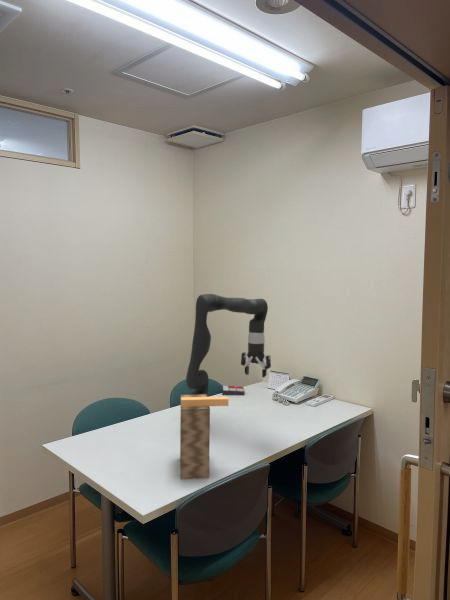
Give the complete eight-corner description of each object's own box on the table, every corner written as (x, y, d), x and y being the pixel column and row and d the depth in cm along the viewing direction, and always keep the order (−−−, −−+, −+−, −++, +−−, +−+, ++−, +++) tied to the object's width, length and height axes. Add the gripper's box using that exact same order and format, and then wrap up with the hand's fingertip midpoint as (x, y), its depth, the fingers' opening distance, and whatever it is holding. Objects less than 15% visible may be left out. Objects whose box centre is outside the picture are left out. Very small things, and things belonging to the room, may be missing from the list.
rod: (181, 406, 187) (181, 399, 187) (181, 404, 191) (181, 397, 190) (228, 405, 189) (228, 399, 189) (227, 403, 193) (227, 396, 193)
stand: (180, 479, 187) (181, 409, 184) (180, 458, 206) (180, 394, 204) (209, 478, 188) (209, 408, 185) (206, 457, 208) (206, 394, 205)
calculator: (244, 390, 304) (222, 389, 304) (244, 396, 305) (222, 395, 304) (243, 386, 315) (222, 385, 315) (243, 392, 316) (221, 390, 315)
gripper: (238, 341, 207) (238, 375, 209) (267, 344, 200) (266, 379, 202) (246, 338, 214) (245, 372, 215) (273, 341, 207) (272, 376, 208)
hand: (255, 375), depth 208 cm, fingers open, 8 cm apart
